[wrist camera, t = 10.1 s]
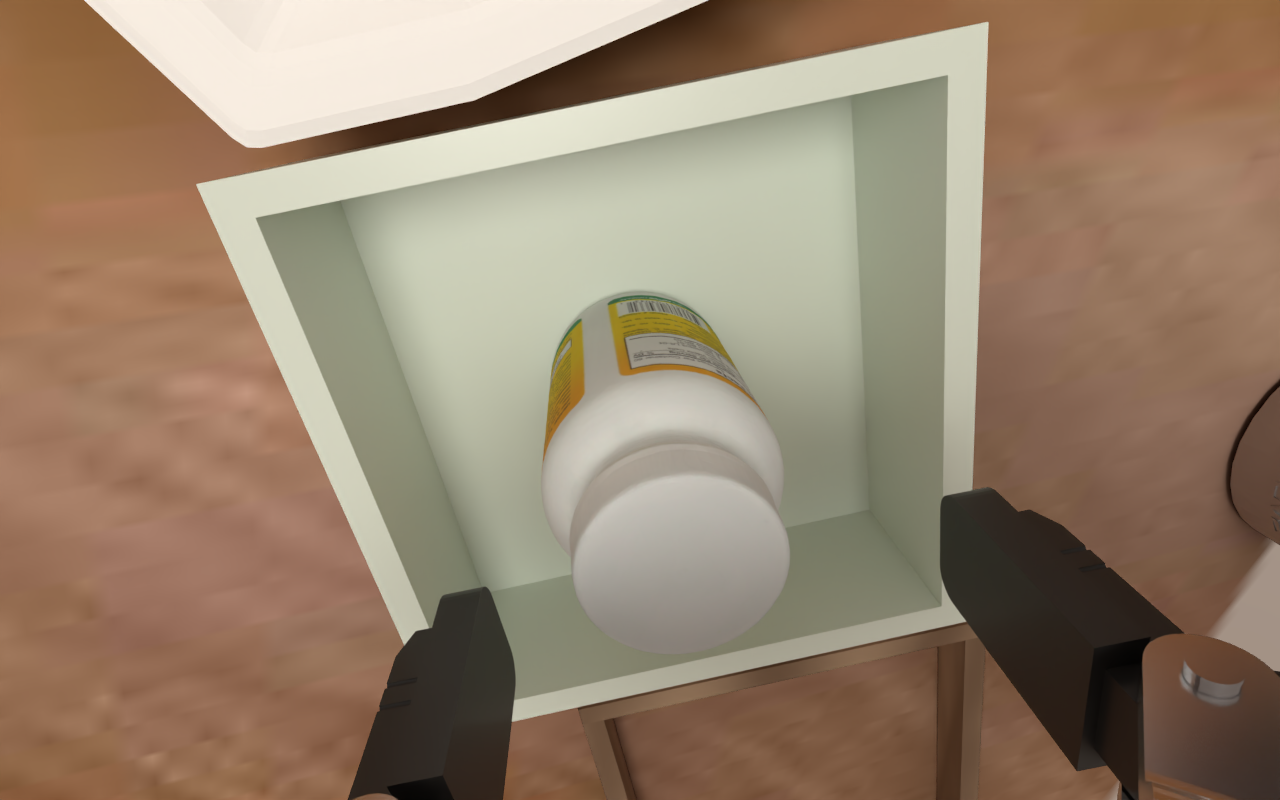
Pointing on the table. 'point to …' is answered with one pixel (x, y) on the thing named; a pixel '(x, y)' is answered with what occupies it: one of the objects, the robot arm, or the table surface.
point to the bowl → (359, 53)
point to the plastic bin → (657, 263)
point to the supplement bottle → (662, 478)
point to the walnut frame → (955, 672)
